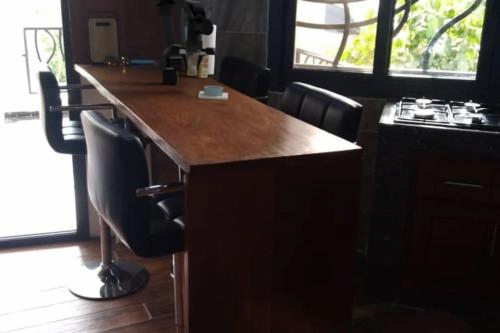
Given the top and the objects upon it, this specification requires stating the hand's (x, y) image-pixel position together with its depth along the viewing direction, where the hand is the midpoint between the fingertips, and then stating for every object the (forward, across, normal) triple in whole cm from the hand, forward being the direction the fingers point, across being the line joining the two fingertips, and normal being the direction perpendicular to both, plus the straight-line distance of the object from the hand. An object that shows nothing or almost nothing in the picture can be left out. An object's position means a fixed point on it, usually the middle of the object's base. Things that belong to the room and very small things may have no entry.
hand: (192, 70), depth 238 cm
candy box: (+9, +1, +42) cm, 43 cm away
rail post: (+2, 0, 0) cm, 2 cm away
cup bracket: (+9, +10, -10) cm, 17 cm away
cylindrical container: (+9, +4, +56) cm, 57 cm away
